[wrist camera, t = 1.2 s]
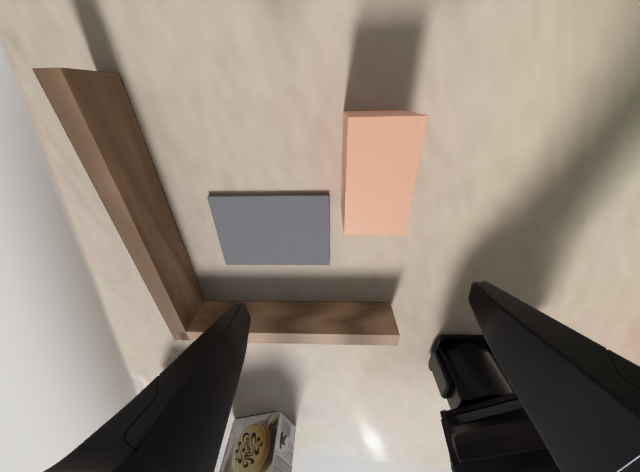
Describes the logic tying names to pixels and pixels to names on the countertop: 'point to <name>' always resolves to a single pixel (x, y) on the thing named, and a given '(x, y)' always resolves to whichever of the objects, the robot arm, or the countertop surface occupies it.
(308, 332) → the wooden corner wall
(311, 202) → the mat
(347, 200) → the block
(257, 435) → the coffee box
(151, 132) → the countertop surface
